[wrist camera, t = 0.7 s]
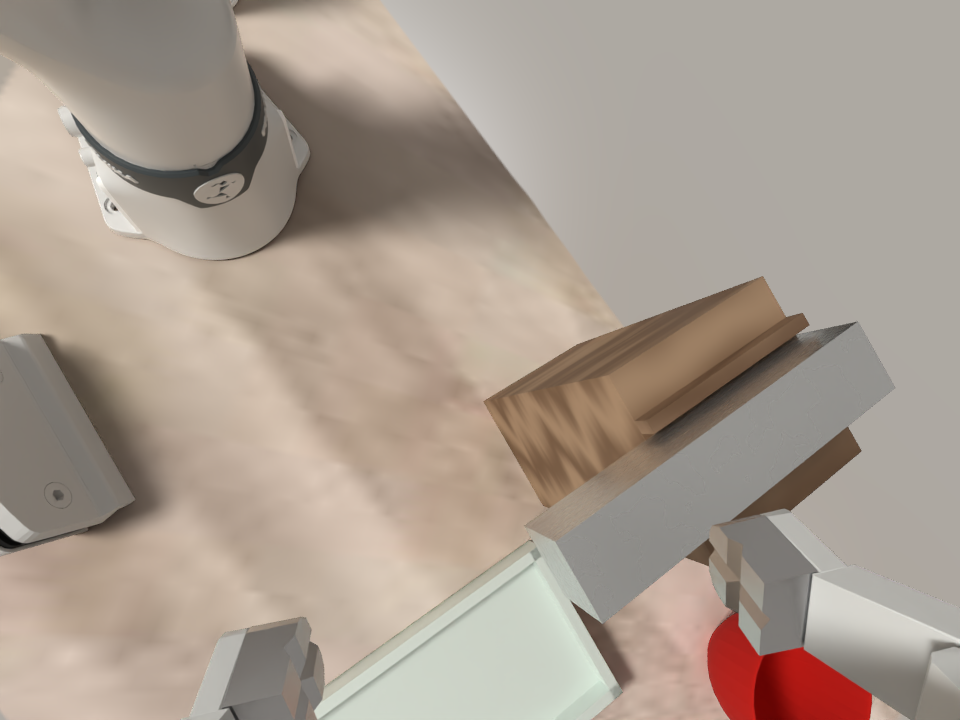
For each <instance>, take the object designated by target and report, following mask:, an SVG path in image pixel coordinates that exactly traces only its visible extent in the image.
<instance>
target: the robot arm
mask: <svg viewBox="0 0 960 720" xmlns="http://www.w3.org/2000/svg"><path fill="white" fill-rule="evenodd" d="M0 55H2V56H4V57H6V58H8V59H10V60H11V61H13V62H15V63H17V64H18V65H20V66H21V67H23V68H25V69H26V70H28V71H29V72H30V73H31V74H33V75H34V76H35V77H36V78H37V79H38V80H39V81H40V82H42V83H43V84H44V85H45V86H46V87H47V88H48V89H49V90H50V91H51V92H52V93H53V94H54V95H55V96H56V97H57V98H58V99H59V100H60V101H61V102H62V103H63V104H64V105H65V106H60V108H58V113H59V116H60V118H61V120H62V122H63V124H64V126H65V128H66V129H67V131H68V132H69V134H70V135H71V136H72V137H78V140H79V143H80V146H81V149H79V154H80V157H81V159H82V161H83V162H84V164H85V165H86V166H87V168H88V171H89V174H90V177H91V180H92V183H93V186H94V190H95V193H96V196H97V199H98V202H99V205H100V208H101V211H102V214H103V218H104V221H105V223H106V224H107V226H108V227H109V228H110V230H111V231H112V232H114V233H116V234H118V235H121V236H125V237H131V238H139V239H149V240H152V241H154V242H157V243H159V244H161V245H163V246H165V247H167V248H169V249H171V250H173V251H175V252H177V253H180V254H183V255H186V256H189V257H193V258H198V259H206V260H224V259H231V258H236V257H240V256H244V255H247V254H249V253H252V252H254V251H256V250H258V249H260V248H261V247H263V246H265V245H266V244H267V243H269V242H270V241H271V240H273V239H274V238H275V237H276V236H277V235H278V234H279V233H280V231H281V230H282V229H283V228H284V226H285V225H286V223H287V221H288V219H289V218H290V215H291V213H292V210H293V207H294V203H295V198H296V187H297V181H298V177H299V175H300V174H301V172H302V171H303V169H304V167H305V166H306V164H307V162H308V160H309V157H310V150H309V147H308V144H307V142H306V141H305V139H304V138H303V137H302V136H301V135H300V134H299V132H298V131H297V130H296V129H295V128H294V126H293V125H292V124H291V123H290V122H289V121H288V119H287V118H286V117H285V116H284V114H283V112H282V111H281V110H279V109H278V108H277V107H276V105H275V104H274V103H273V102H272V101H271V100H270V98H269V97H268V96H267V95H266V94H265V93H264V91H263V90H262V89H261V87H260V85H259V82H258V80H257V79H256V76H255V74H254V72H253V70H252V68H251V66H250V64H249V63H248V62H247V60H246V57H245V54H244V50H243V46H242V42H241V38H240V34H239V30H238V26H237V22H236V18H235V14H234V10H233V8H232V5H231V2H230V0H0ZM291 139H292V140H291ZM115 206H116V207H117V209H118V210H119V211H114V207H115ZM709 541H710V543H711V544H712V545H713V547H714V548H715V550H714V552H713V553H712V554H711V556H710V557H709V572H710V575H711V579H712V582H713V585H714V588H715V590H716V592H717V594H718V596H719V597H720V599H721V600H722V602H723V603H724V605H725V606H726V607H727V608H729V609H731V610H733V611H735V612H737V613H738V614H739V627H740V629H741V630H742V631H743V633H744V634H745V636H746V637H747V639H748V640H749V642H750V643H751V645H752V646H753V647H754V649H755V650H756V652H757V653H758V655H759V656H761V655H766V654H771V653H776V652H781V651H786V650H790V649H795V648H800V647H804V650H806V651H807V652H809V653H810V654H812V655H813V656H815V657H816V658H818V659H819V660H821V661H822V662H824V663H825V664H827V665H828V666H830V667H831V668H833V669H834V670H836V671H837V672H839V673H840V674H842V675H843V676H845V677H846V678H848V679H849V680H851V681H853V682H854V683H856V684H857V685H859V686H860V687H862V688H863V689H865V690H866V691H868V692H869V693H871V694H872V695H874V696H875V697H877V698H878V699H880V700H881V701H883V702H884V703H886V704H887V705H889V706H890V707H892V708H893V709H895V710H896V711H898V712H900V713H901V714H903V715H904V716H906V717H907V718H909V719H910V720H960V607H958V606H955V605H953V604H950V603H948V602H945V601H943V600H940V599H937V598H936V597H933V596H931V595H928V594H926V593H923V592H921V591H918V590H916V589H913V588H911V587H909V586H906V585H904V584H901V583H899V582H897V581H894V580H892V579H889V578H887V577H884V576H882V575H879V574H877V573H875V572H872V571H870V570H867V569H865V568H862V567H860V566H857V565H850V566H847V565H846V564H845V563H844V562H843V561H842V560H841V559H840V558H839V557H838V556H837V555H836V554H835V553H833V552H832V551H831V550H830V549H829V548H828V547H827V546H826V545H825V544H824V543H823V542H822V541H821V540H820V539H819V538H818V537H817V536H816V535H815V534H814V533H813V532H812V531H811V530H810V529H808V527H806V526H805V525H804V524H803V523H802V522H801V521H800V520H799V519H798V518H797V517H796V516H795V515H794V514H793V513H792V512H791V511H789V510H787V509H780V510H776V511H772V512H767V513H763V514H760V515H754V516H750V517H746V518H741V519H737V520H733V521H729V522H724V523H720V524H716V525H712V527H711V529H710V531H709ZM310 635H311V627H310V625H309V623H308V621H307V619H306V618H305V617H298V618H293V619H288V620H283V621H278V622H273V623H268V624H263V625H258V626H252V627H250V628H245V629H240V630H235V631H230V632H225V633H224V634H223V635H222V636H221V637H220V638H219V640H218V642H217V644H216V647H215V650H214V652H213V655H212V658H211V660H210V663H209V665H208V668H207V671H206V673H205V676H204V679H203V681H202V684H201V687H200V689H199V692H198V695H197V697H196V700H195V703H194V705H193V708H192V711H191V713H190V716H189V717H187V718H183V719H180V720H317V717H316V715H315V713H314V710H315V709H316V708H317V706H318V705H319V703H320V702H321V701H322V699H323V692H324V684H325V683H324V664H323V659H322V655H321V652H320V650H319V647H318V646H317V645H316V644H314V643H312V642H310Z"/></svg>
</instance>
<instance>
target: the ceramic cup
mask: <svg viewBox="0 0 960 720" xmlns="http://www.w3.org/2000/svg"><path fill="white" fill-rule="evenodd" d="M707 657H708V671H709V678H710V681H711V684H712V687H713V690H714V693H715V695H716V697H717V699H718V701H719V703H720V705H721V707H722V708H723V710H724V712H725V713H726V714H727V716H728V717H729V718H730V720H870V714H871V706H872V694H871V693H869V692H868V691H866V690H865V689H863V688H862V687H860V686H859V685H857V684H856V683H854V682H853V681H851V680H849V679H848V678H846V677H845V676H843V675H842V674H840V673H839V672H837V671H836V670H834V669H833V668H831V667H830V666H828V665H827V664H825V663H824V662H822V661H821V660H819V659H818V658H816V657H815V656H813V655H812V654H810V653H809V652H807V651H806V650H804V647H800V648H795V649H790V650H786V651H781V652H776V653H771V654H766V655H761V656H759V655H758V653H757V652H756V650H755V649H754V647H753V646H752V645H751V643H750V642H749V640H748V639H747V637H746V636H745V634H744V633H743V631H742V630H741V629H740V627H739V614H738V613H736V614H733V615H732V616H730V617H729V618H727V619H726V620H725V621H724V622H722V623H721V625H720V626H718V627H717V629H716V630H715V631H714V633H713V634H712V636H711V638H710V641H709V645H708V655H707Z"/></svg>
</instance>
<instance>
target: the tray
mask: <svg viewBox="0 0 960 720" xmlns="http://www.w3.org/2000/svg"><path fill="white" fill-rule="evenodd" d="M622 693H623V692H622V690H621V688H620V686H619V685H618V683H617V681H616V680H615V678H614V676H613V674H612V673H611V671H610V669H609V667H608V666H607V664H606V662H605V660H604V659H603V657H602V655H601V653H600V652H599V650H598V648H597V647H596V645H595V643H594V641H593V640H592V638H591V636H590V634H589V633H588V631H587V629H586V627H585V626H584V624H583V622H582V620H581V619H580V617H579V615H578V614H577V612H576V610H575V608H574V607H573V605H572V603H571V601H570V600H569V599H568V598H567V597H565V596H564V594H563V592H562V591H561V589H560V587H559V586H558V584H557V582H556V580H555V579H554V577H553V575H552V573H551V572H550V570H549V568H548V566H547V565H546V563H545V561H544V559H543V558H542V556H541V554H540V553H539V551H538V549H537V547H536V546H535V544H534V543H533V542H531V541H530V540H529V541H527V542H526V543H525V544H523V545H522V546H520V547H519V548H518V549H516V550H515V551H513V552H512V553H511V554H509V555H508V556H506V557H505V558H504V559H502V560H501V561H499V562H498V563H497V564H495V565H494V566H492V567H491V568H490V569H488V570H487V571H485V572H484V573H483V574H481V575H480V576H478V577H477V578H476V579H474V580H473V581H471V582H470V583H469V584H467V585H466V586H464V587H463V588H462V589H460V590H459V591H457V592H456V593H455V594H453V595H452V596H450V597H449V598H448V599H446V600H445V601H443V602H442V603H441V604H439V605H438V606H436V607H435V608H434V609H432V610H431V611H429V612H428V613H427V614H425V615H424V616H422V617H421V618H420V619H418V620H417V621H415V622H414V623H413V624H411V625H410V626H408V627H407V628H406V629H404V630H403V631H401V632H400V633H399V634H397V635H396V636H394V637H393V638H392V639H390V640H389V641H387V642H386V643H385V644H383V645H382V646H380V647H379V648H378V649H376V650H375V651H373V652H372V653H371V654H369V655H368V656H366V657H365V658H364V659H362V660H361V661H359V662H358V663H357V664H355V665H354V666H352V667H351V668H350V669H348V670H347V671H345V672H344V673H343V674H341V675H340V676H338V677H337V678H336V679H334V680H333V681H331V682H330V683H329V684H327V685H326V686H324V692H323V699H322V701H321V702H320V703H319V705H318V706H317V708H316V709H315V710H314V713H315V715H316V717H317V720H591V719H593V718H594V717H595V716H596V715H597V714H598V713H600V712H601V711H602V710H603V709H604V708H605V707H606V706H608V705H609V704H610V703H611V702H612V701H613V700H615V699H616V698H617V697H618V696H619V695H620V694H622Z"/></svg>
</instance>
